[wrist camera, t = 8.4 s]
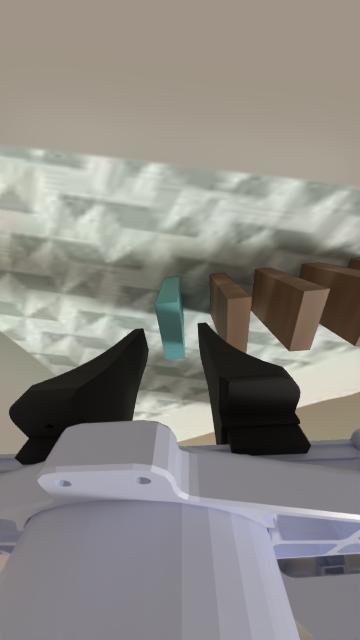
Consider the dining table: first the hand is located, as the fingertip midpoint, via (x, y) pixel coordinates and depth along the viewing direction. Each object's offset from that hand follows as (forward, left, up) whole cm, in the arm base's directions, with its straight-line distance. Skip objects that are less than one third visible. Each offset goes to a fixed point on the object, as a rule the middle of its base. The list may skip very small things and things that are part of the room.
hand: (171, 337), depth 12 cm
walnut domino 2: (+3, -10, -8) cm, 13 cm away
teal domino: (0, 0, -8) cm, 8 cm away
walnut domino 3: (+4, -14, -8) cm, 17 cm away
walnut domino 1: (+1, -5, -8) cm, 10 cm away
